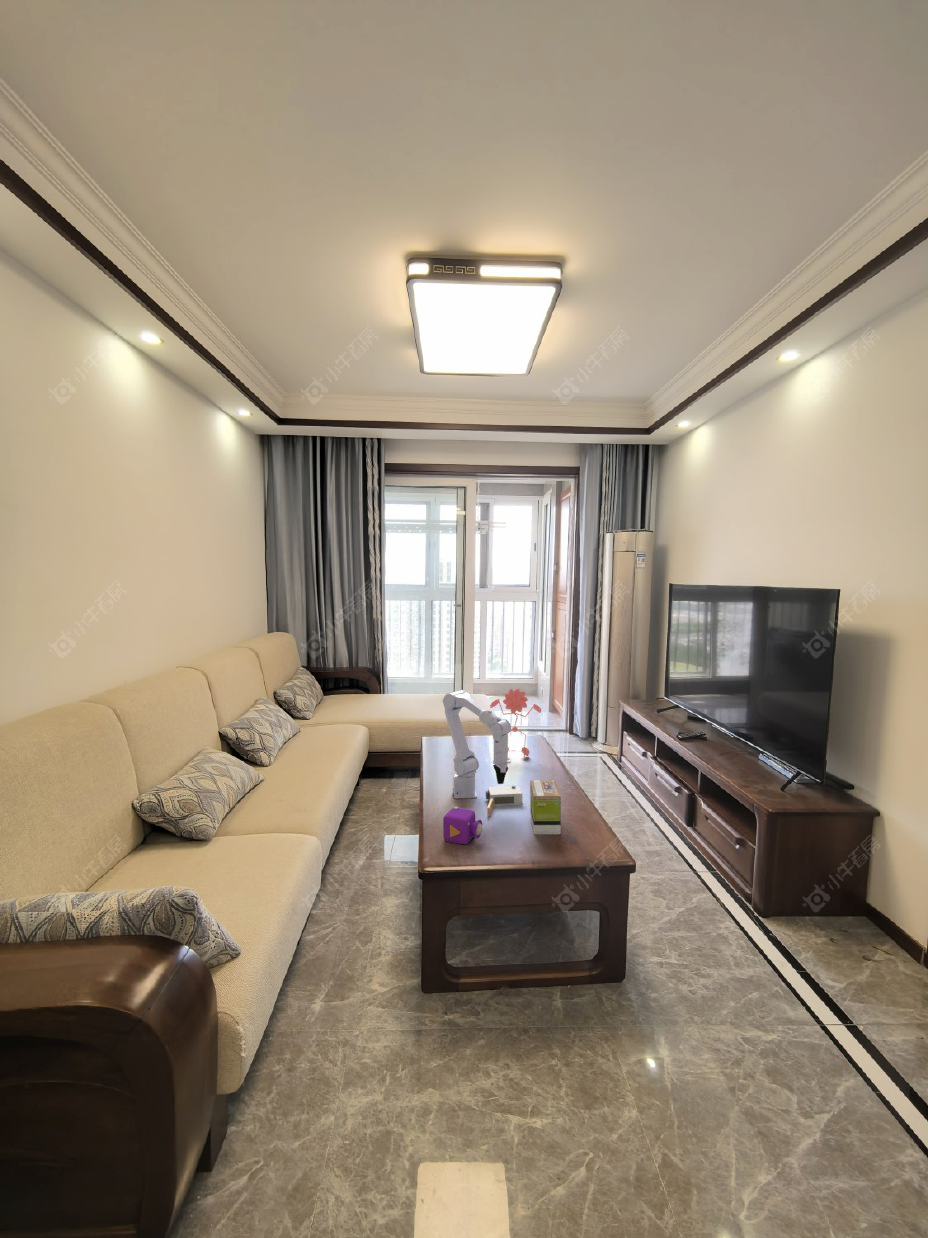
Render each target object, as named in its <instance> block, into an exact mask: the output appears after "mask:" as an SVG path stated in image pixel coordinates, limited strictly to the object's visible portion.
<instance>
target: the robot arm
mask: <svg viewBox="0 0 928 1238" xmlns="http://www.w3.org/2000/svg"><path fill="white" fill-rule="evenodd" d="M442 704H443V707H444V715H445V719H446V721H447V725H448V728H449V732H450V735H451V739H452V742H453V746H454V749H455V752H456V754H455V756H454V758H453V767H454V771H455V774H453V776H452V783H453V784H452V792H453V793H452V794H453V797H454V799H472V798H473V799H475V798H476V799H477V798H478V795H477V791H476V773H477V770H478V769H479V768H480V767H479V766H480V765H479V764H480V763H479V760H478V759H477V757H476V755H475V753H474V751H472V750H470V748H469V745H468V741H467V738H466V735H465V732H464V731H465V730H464V728H463V725H462V722H461V717H460V715H459V714H460V712H461V710H462V709H463V708H466V709H468V710H469V711H470V712H472V713H474V715H476V716H478V720H479V721H480V723H482V724H483V725H485V726H486V727H487V728H488V729H490V732H491V735H492V739H493V760H492V763H493V769H494V772H495V776H496V777H495V778H496V781H497V784H498V785H503V784H505V778H506V774H507V772H508V771H509V767H508V765H509V764H511V763H512V761H511V760H510V759H508V758H509V751H508V747H509V733H511V732H510V731H511V730H512V727H511V726H512V724H511V723H510V722H509V721H508V719H506V718H501V717H500V716H498V715H496V714H495V713H493V711H492V710H491V709H487V708H486V709H484V708H482V706H481V705H479V704H478V703H477V702H476V701H475V700H474V699H473V698H472V697H471V695H470V693H468V692H467V691H466V690H463V689H460V690H458V691H453V692H451V693H450V692H448V693H446V694H445V695H444V697H443V699H442ZM507 733H508V734H507Z"/></svg>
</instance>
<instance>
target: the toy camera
mask: <svg viewBox="0 0 928 1238" xmlns="http://www.w3.org/2000/svg"><path fill="white" fill-rule="evenodd" d="M442 818H443V819H442V820H443V821H442V823H443V826H442V828H443V829H442V830H443V831H442V832H443V833H442V834H443V839H444V840H443V841H445V842H449V843H454V844H460V845H467V844H468V843H469V842H470V841H471V840H472V839H473V837H474V838H475V839H477V840H478V839H480V838H481V835H482V833H483V820H482V819H478V820H476V812H475V811H474V810H472V809H467V808H462V807H459V806H455V805H454V807H452V808H451V809H450V810H449V811H448V812H447V813H446V814H444V816H443V817H442Z"/></svg>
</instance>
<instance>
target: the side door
mask: <svg viewBox="0 0 928 1238" xmlns="http://www.w3.org/2000/svg"><path fill="white" fill-rule="evenodd" d="M493 808H494V806H493V797H491V800H490V802H489V801H488V805H487V808H486V811H487V817H489V818H490V816H491V813H492V811H493Z"/></svg>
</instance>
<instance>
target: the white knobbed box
mask: <svg viewBox="0 0 928 1238" xmlns="http://www.w3.org/2000/svg"><path fill="white" fill-rule="evenodd" d="M491 797H493V807H495V806H511V805H513V806H514V805H523V792H522V790H521V788H520V786H519V785H507V786H506V785H505V786H503V785H502V786H488V787H487V790H485V800H488V803H489V802H490V800H491Z"/></svg>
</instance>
